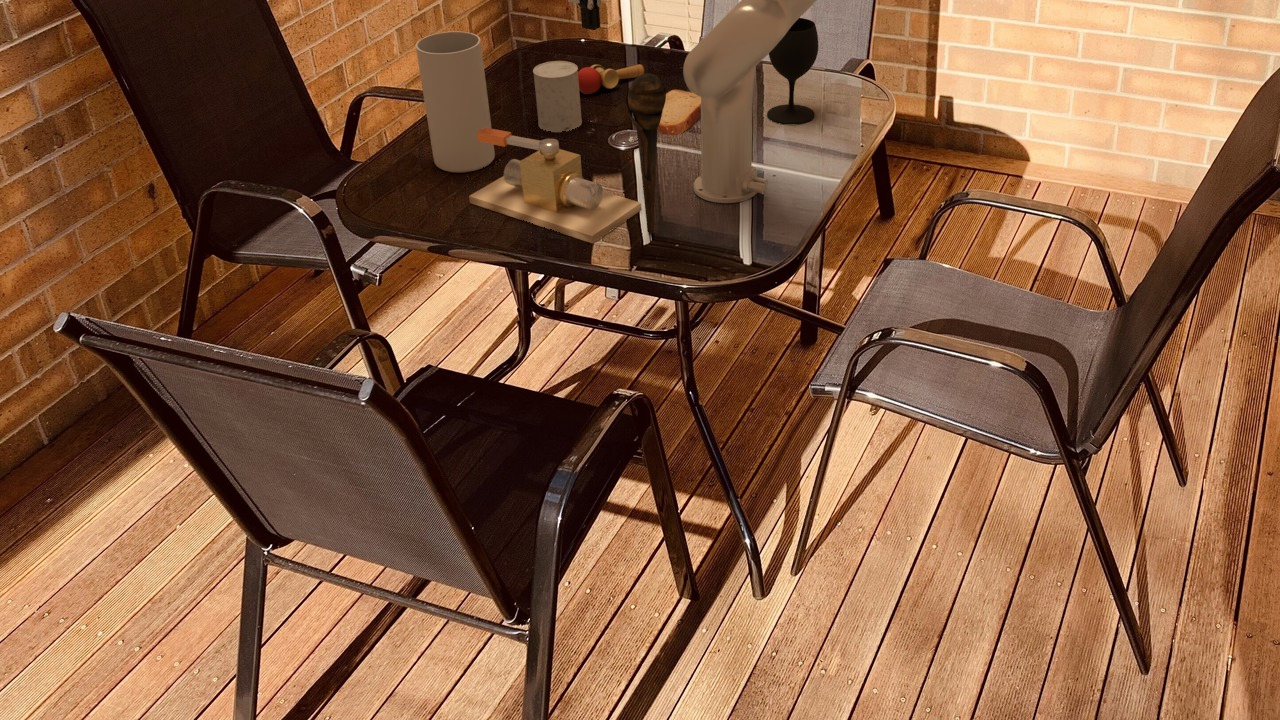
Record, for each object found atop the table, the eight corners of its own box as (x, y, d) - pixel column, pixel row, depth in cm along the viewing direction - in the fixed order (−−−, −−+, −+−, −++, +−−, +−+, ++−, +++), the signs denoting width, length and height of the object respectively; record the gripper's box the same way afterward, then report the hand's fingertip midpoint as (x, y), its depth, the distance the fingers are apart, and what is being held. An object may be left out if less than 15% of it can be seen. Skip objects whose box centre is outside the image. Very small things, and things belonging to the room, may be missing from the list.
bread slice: (666, 139, 240) (665, 123, 238) (628, 111, 253) (627, 95, 251) (739, 121, 246) (739, 104, 244) (698, 94, 260) (697, 78, 257)
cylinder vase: (461, 179, 227) (443, 58, 213) (422, 163, 234) (402, 45, 220) (507, 158, 235) (493, 39, 220) (468, 142, 242) (451, 27, 227)
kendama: (628, 76, 273) (566, 86, 263) (632, 52, 269) (570, 60, 259) (647, 91, 268) (584, 101, 258) (652, 66, 265) (589, 76, 255)
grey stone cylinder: (576, 133, 244) (571, 78, 237) (533, 131, 245) (527, 76, 238) (586, 115, 251) (582, 61, 244) (544, 113, 253) (539, 60, 246)
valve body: (608, 203, 213) (605, 157, 207) (582, 221, 208) (578, 173, 202) (527, 179, 223) (522, 134, 217) (500, 195, 218) (494, 149, 212)
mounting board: (641, 209, 214) (641, 202, 213) (592, 243, 204) (592, 236, 203) (520, 173, 229) (520, 166, 228) (469, 202, 219) (468, 196, 218)
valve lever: (562, 149, 210) (562, 140, 209) (552, 157, 208) (551, 148, 207) (487, 135, 217) (486, 126, 216) (476, 142, 214) (475, 133, 213)
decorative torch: (631, 226, 208) (623, 68, 191) (668, 223, 209) (663, 65, 192) (634, 244, 203) (626, 83, 186) (672, 241, 203) (668, 80, 186)
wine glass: (824, 116, 245) (829, 25, 234) (788, 129, 241) (791, 36, 229) (793, 102, 252) (796, 12, 241) (756, 114, 248) (758, 23, 236)
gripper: (593, -87, 208) (599, 13, 218) (540, -67, 198) (550, 36, 209) (626, -82, 204) (631, 19, 214) (574, -62, 194) (582, 43, 205)
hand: (591, 27), depth 211 cm, fingers closed
